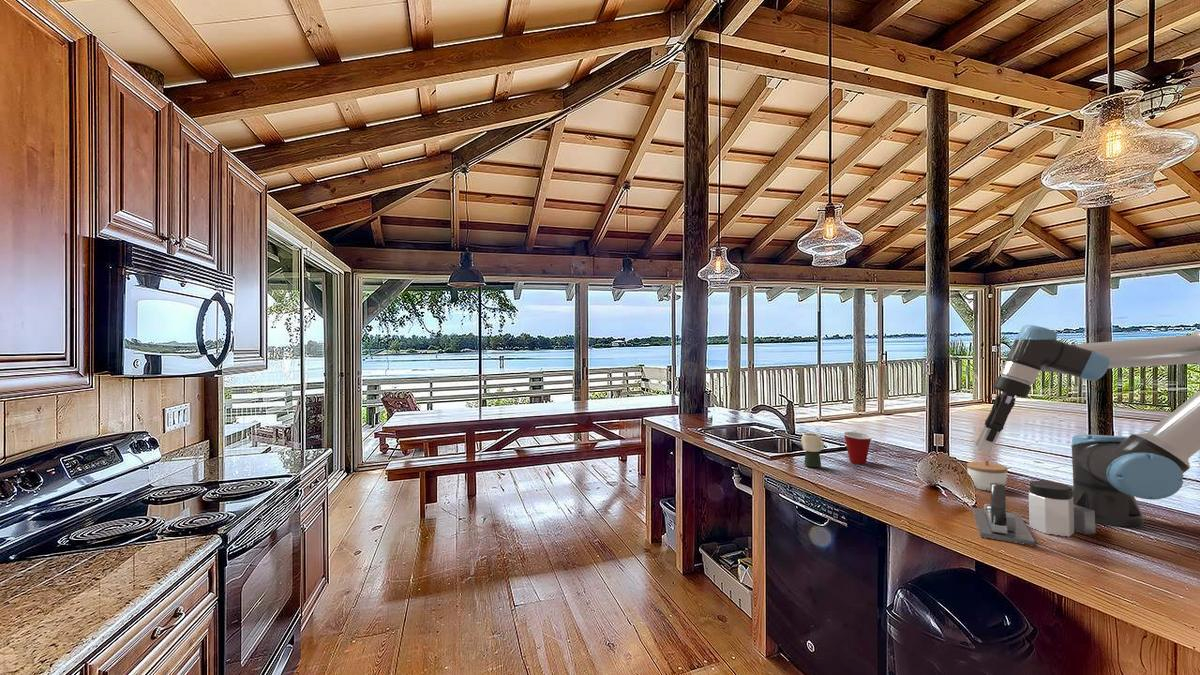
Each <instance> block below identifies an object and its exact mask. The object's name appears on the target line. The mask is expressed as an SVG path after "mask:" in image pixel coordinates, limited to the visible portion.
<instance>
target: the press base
mask: <svg viewBox="0 0 1200 675" xmlns="http://www.w3.org/2000/svg"><path fill="white" fill-rule="evenodd" d="M972 513H973V516H974V520H976V521H975V523H977V524H976V527H977V531H978V530H979V531H978V534H979V533H980V534H979V537H980V536H981V537H980V538H982V537H985V538H984V539H988V538H991V539H990V540H994V539H998V540H997V541H999V540H1004V541H1003V542H1005V541H1010V542H1009V543H1011V542H1017V543H1022V544H1021V545H1023V543H1024V544H1028V545H1027V546H1029V545H1034V546H1033V547H1036V540H1035V539H1034V538H1033V535H1032V534H1031V532H1030V530H1029V528H1028V526H1027V525H1026V523H1025V521H1024V520H1023V517H1022V516H1021V514H1020V513H1015V512H1012V513H1013V514H1014V516H1015V522H1016V531H1009V530H1007V534H1005V533H998V532H992V530H991V527H990V524H989V522H988V519H987V516H986V514H985V511H984V508H978V507H972ZM1017 543H1016V544H1017Z"/></svg>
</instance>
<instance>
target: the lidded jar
mask: <svg viewBox="0 0 1200 675" xmlns="http://www.w3.org/2000/svg"><path fill="white" fill-rule="evenodd" d="M966 469H967V475H968V474H969V475H970V476H971V478H972V480H973V482H974V484H973V485H974V486H975V488H976V489H978V490H981V491H986V490H987V492H991V491H990V483H999V484H1003V485H1005V486H1006V484H1007V480H1008V467H1007V466H1004V465H1001V464H998V463H993V462H989V460H984V461H969V462H966Z"/></svg>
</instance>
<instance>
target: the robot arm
mask: <svg viewBox="0 0 1200 675" xmlns="http://www.w3.org/2000/svg"><path fill="white" fill-rule="evenodd" d="M1057 336H1058V333H1057V332H1056V331H1055V330H1053V329H1050V328H1047V327H1042V326H1040V325H1039V326H1038V325H1034V324H1027V325H1024V326H1022V327H1021V329H1020V330H1019V332H1018V334H1017V335H1016V337H1015V338H1014V341H1013V344H1012V346H1011V348H1010V351H1009V353H1008V355H1007V357H1006V359H1005V361H1004V363H1000V365H999V366H1000V367H1001V370H1000V371H999V376H997V377H996V379H995V382H994V384H993V385H992V387H993V389H995V390H997V391H1001V392H1002V393H1000V394H999V395H998V396H996V397H995V399H994V403H993V404H992V406H991V410H990V412H989V414H988V416H987V418H986V419H985V420H984V425H983V427H982V428H981V431H980V433H979V434H978V437H977V439H976V441H975V444H974V446H976V447H977V449H976V450H977V451H979V452H981V453H984V454H987V455H991V452H992V450H993V447H994V446H995V444H996V441H997V440H998V438H999V435H1000V433H1001V432H1002V431H1003V430H1004V426H1005V425H1006V421H1007V419H1008V417H1009V415H1010V413H1011V412H1012V409H1014V406H1015V404H1016V400H1017V398H1016V397H1019V398H1022V399H1026V398H1027V397H1028V396H1029V393H1030V391H1031V389H1032V386H1031V385H1034V384H1035V382H1036V380H1037V378H1038V376H1039V374H1040V371H1041V372H1043V373H1055V374H1063V375H1068V376H1069V375H1070V376H1073V377H1076V378H1078V379H1083V380H1087V381H1092V382H1094V381H1098V380H1099V379H1101V378H1102V377H1103V376H1104V375H1105V374H1106V373H1107V371H1108V369H1121V368H1125V369H1126V368H1140V367H1154V366H1155V367H1157V366H1159V367H1160V366H1170V365H1171V366H1174V365H1175V366H1176V365H1190V364H1197V365H1198V366H1200V330H1196V331H1194V332H1192V333H1190V335H1178V336H1166V337H1165V336H1163V337H1162V336H1161V337H1150V338H1140V339H1136V338H1135V339H1127V340H1126V339H1125V340H1113V341H1101V342H1099V341H1098V342H1087V343H1077V344H1076V343H1073V344H1071V343H1070V344H1069V343H1065V342H1063V341H1060V340H1058V339H1057ZM1000 375H1001V376H1000ZM1070 448H1071V459H1072V460H1071V461H1072V465H1071V466H1072V479H1073V480H1072V482H1073V483H1072V486H1071V488H1072V497H1073V503H1074V505H1078V506H1081V507H1084V508H1088V509H1091V510H1094V511H1095V523H1097V524H1098V523H1099V524H1103V525H1104V524H1105V525H1110V526H1117V527H1141V526H1143V525H1145V524H1144V514H1143V512H1142V510H1141V508H1140V505H1139V504H1138V501H1137V499H1136V498H1138V499H1143V500H1153V501H1154V500H1162V499H1166V498H1169V497H1172V496H1173V495H1175V494H1177V493H1178V492H1179V491H1180V489H1181V488H1182V487H1183V484H1184V479H1183V478H1184V477H1185V476H1184V473H1185V472H1187V471H1188V470H1189V469H1191V465H1190V462H1189V459H1190V458H1191V457H1192V456H1194V455H1195V454H1196V453H1198V452H1199V451H1200V390H1199V391H1197V392H1196V393H1195V394H1193V395H1192V396H1191V397H1189V398H1188V399H1186V401H1184V402H1183V403H1182V404H1181V405H1179V406H1178V407H1177V408H1176V409H1174V410H1173V411H1172V412H1171V413H1170V414H1168V415H1167V416H1165V417H1164V418H1163V419H1162V420H1161V421H1159V422H1158V423H1157V424H1155V425H1154V427H1152V428H1151V429H1149V430H1148V431H1147V432H1145V433H1132V434H1131V435H1130V436H1128V437H1127V436H1119V435H1103V434H1074V435H1073V436H1072V439H1071V445H1070Z"/></svg>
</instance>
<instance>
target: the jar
mask: <svg viewBox="0 0 1200 675" xmlns="http://www.w3.org/2000/svg"><path fill="white" fill-rule="evenodd" d="M1028 515H1029V516H1028V517H1029V518H1028V519H1029V520H1028V522H1029V524H1028V525H1029V528H1030V527H1031V528H1030V529H1032V528H1033V530H1035V529H1036V530H1035V531H1037V530H1038V532H1040V531H1041V532H1040V533H1042V532H1043V534H1045V533H1046V534H1045V535H1049V534H1054V535H1053V536H1057V535H1060V536H1059V537H1065V536H1067V537H1066V538H1069V537H1071V536H1072V535H1073V534H1074V533H1075V531H1074V503H1073V497H1072V486H1069V485H1066V484H1064V483H1059V482H1054V481H1048V480H1047V481H1046V480H1032V481H1030V482H1029V492H1028Z"/></svg>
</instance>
